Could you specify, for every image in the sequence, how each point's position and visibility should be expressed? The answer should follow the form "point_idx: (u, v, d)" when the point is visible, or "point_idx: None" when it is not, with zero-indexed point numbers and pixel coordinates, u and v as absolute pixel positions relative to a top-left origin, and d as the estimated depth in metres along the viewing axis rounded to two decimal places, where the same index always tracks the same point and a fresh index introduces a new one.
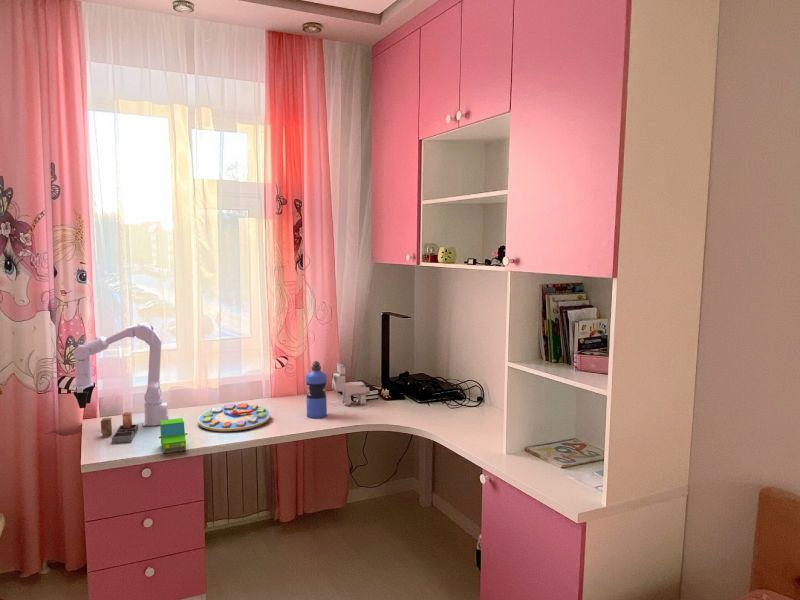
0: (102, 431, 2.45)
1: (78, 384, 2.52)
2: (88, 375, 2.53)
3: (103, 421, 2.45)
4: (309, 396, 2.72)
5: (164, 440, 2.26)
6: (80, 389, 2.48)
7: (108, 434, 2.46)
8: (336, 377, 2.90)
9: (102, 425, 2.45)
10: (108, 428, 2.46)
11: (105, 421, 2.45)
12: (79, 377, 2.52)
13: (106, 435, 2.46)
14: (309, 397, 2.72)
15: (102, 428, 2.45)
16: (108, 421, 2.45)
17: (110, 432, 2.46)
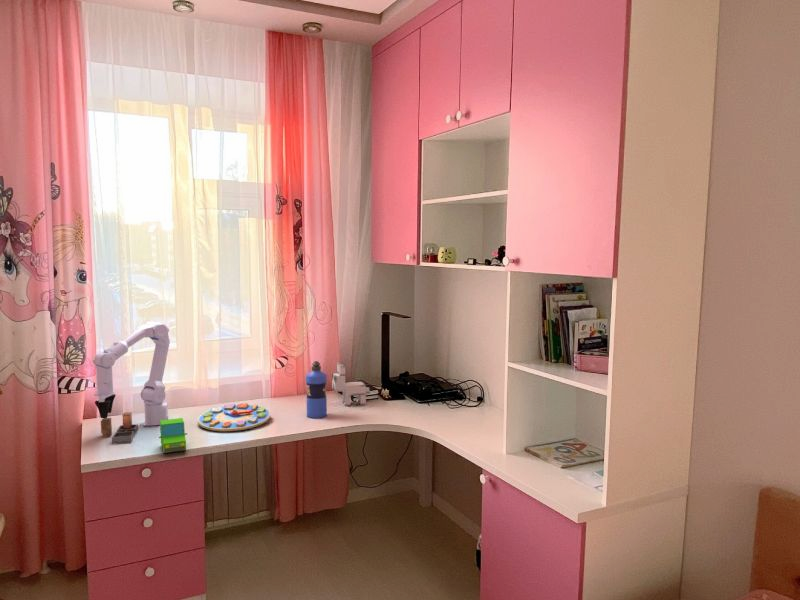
0: (102, 431, 2.45)
1: (99, 393, 2.43)
2: (110, 384, 2.44)
3: (103, 421, 2.45)
4: (309, 396, 2.72)
5: (164, 440, 2.26)
6: (102, 398, 2.39)
7: (108, 434, 2.46)
8: (336, 377, 2.90)
9: (102, 425, 2.45)
10: (108, 428, 2.46)
11: (105, 421, 2.45)
12: (101, 386, 2.42)
13: (106, 435, 2.46)
14: (309, 397, 2.72)
15: (102, 428, 2.45)
16: (108, 421, 2.45)
17: (110, 432, 2.46)
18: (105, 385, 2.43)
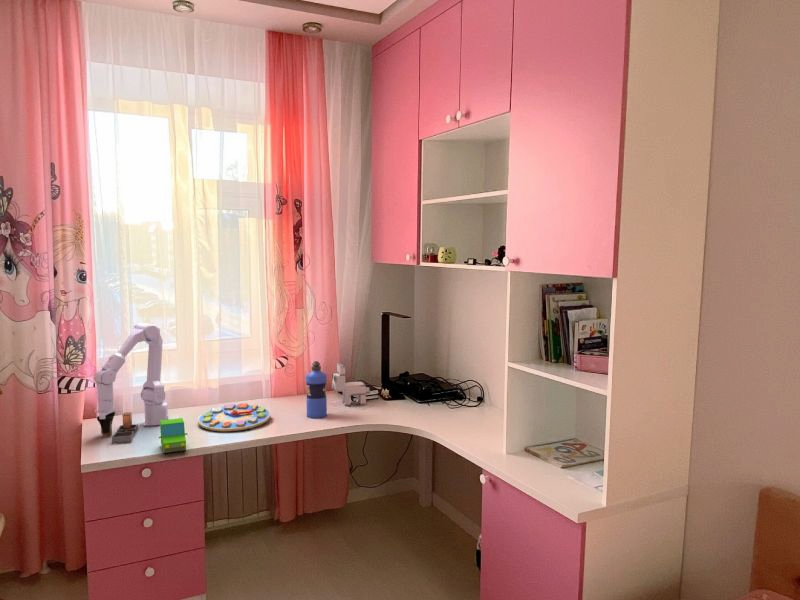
0: None
1: (100, 410, 2.43)
2: (110, 400, 2.45)
3: None
4: (309, 396, 2.72)
5: (164, 440, 2.26)
6: (103, 415, 2.39)
7: (108, 434, 2.46)
8: (336, 377, 2.90)
9: None
10: None
11: None
12: (101, 403, 2.43)
13: (106, 435, 2.46)
14: (309, 397, 2.72)
15: None
16: None
17: (110, 432, 2.46)
18: (106, 402, 2.43)
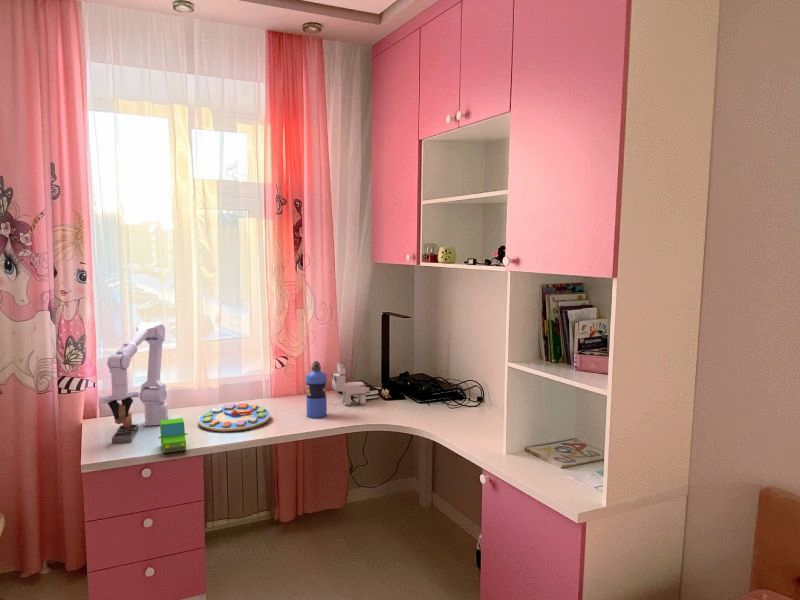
0: None
1: (112, 394, 2.39)
2: (118, 387, 2.37)
3: None
4: (309, 396, 2.72)
5: (164, 440, 2.26)
6: (102, 400, 2.34)
7: (117, 421, 2.40)
8: (336, 377, 2.90)
9: None
10: None
11: None
12: (112, 387, 2.38)
13: (116, 422, 2.40)
14: (309, 397, 2.72)
15: None
16: None
17: (119, 420, 2.39)
18: (113, 387, 2.37)
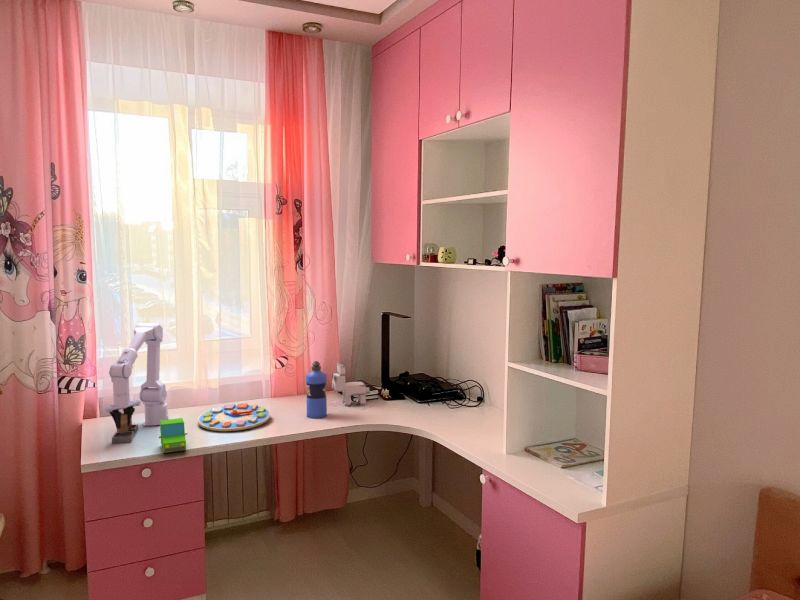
0: None
1: (114, 403, 2.39)
2: (120, 396, 2.37)
3: None
4: (309, 396, 2.72)
5: (164, 440, 2.26)
6: (104, 409, 2.34)
7: (119, 430, 2.39)
8: (336, 377, 2.90)
9: None
10: None
11: None
12: None
13: (118, 431, 2.40)
14: (309, 397, 2.72)
15: None
16: None
17: (121, 429, 2.39)
18: (115, 396, 2.37)
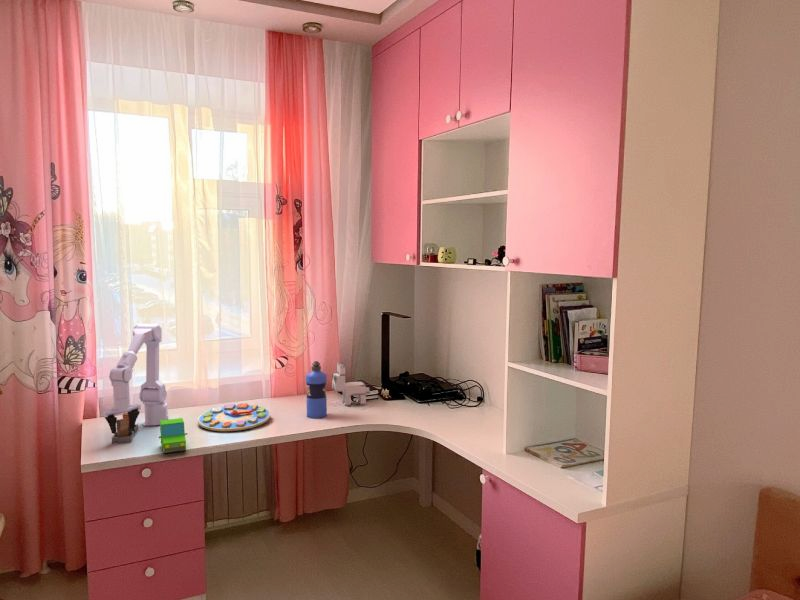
0: (117, 431, 2.41)
1: (114, 407, 2.39)
2: (120, 400, 2.37)
3: (117, 421, 2.40)
4: (309, 396, 2.72)
5: (164, 440, 2.26)
6: (104, 413, 2.34)
7: (120, 436, 2.40)
8: (336, 377, 2.90)
9: (117, 425, 2.41)
10: (119, 430, 2.39)
11: (118, 422, 2.40)
12: (114, 400, 2.38)
13: (119, 436, 2.40)
14: (309, 397, 2.72)
15: (117, 428, 2.41)
16: (119, 422, 2.39)
17: (122, 434, 2.40)
18: (115, 400, 2.37)
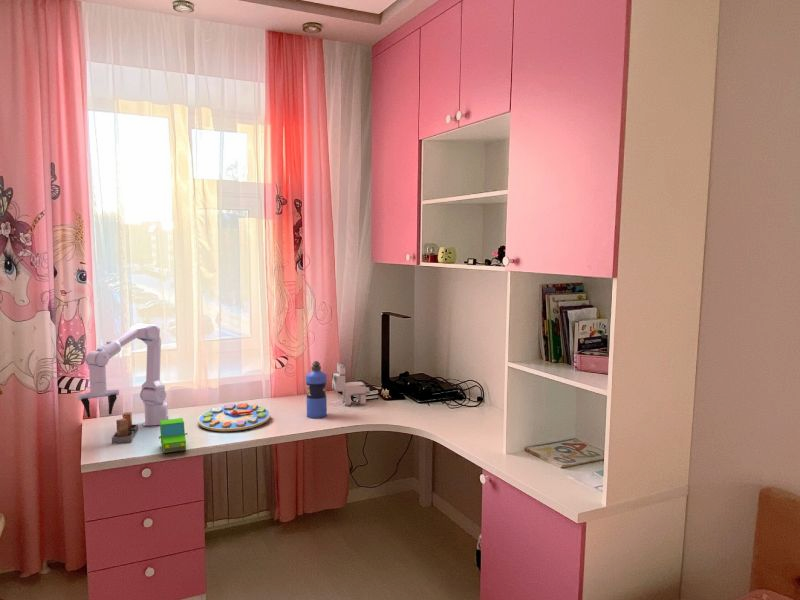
0: (117, 431, 2.41)
1: None
2: (94, 384, 2.35)
3: (117, 421, 2.40)
4: (309, 396, 2.72)
5: (164, 440, 2.26)
6: (78, 396, 2.34)
7: (120, 436, 2.40)
8: (336, 377, 2.90)
9: (117, 425, 2.41)
10: (119, 430, 2.39)
11: (118, 422, 2.40)
12: None
13: (119, 436, 2.40)
14: (309, 397, 2.72)
15: (117, 428, 2.41)
16: (119, 422, 2.39)
17: (122, 434, 2.40)
18: (90, 384, 2.36)
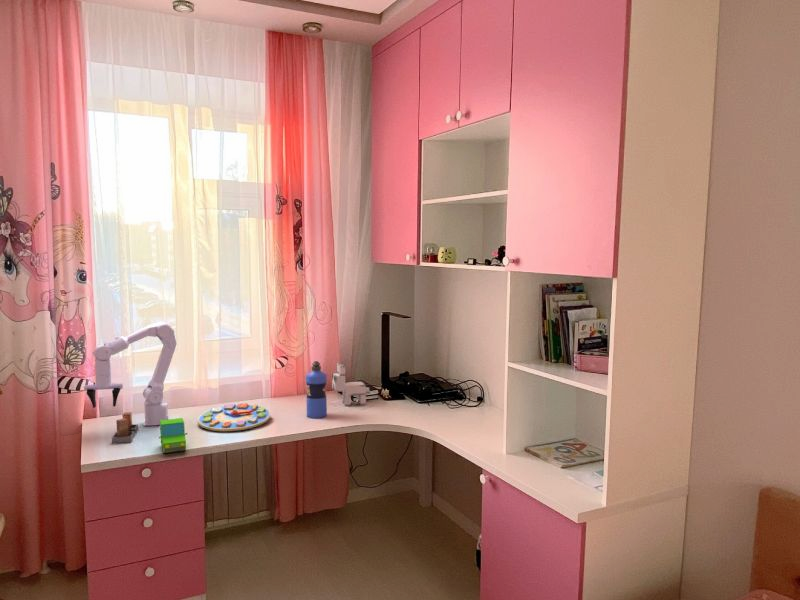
0: (117, 431, 2.41)
1: None
2: (97, 376, 2.49)
3: (117, 421, 2.40)
4: (309, 396, 2.72)
5: (164, 440, 2.26)
6: None
7: (120, 436, 2.40)
8: (336, 377, 2.90)
9: (117, 425, 2.41)
10: (119, 430, 2.39)
11: (118, 422, 2.40)
12: None
13: (119, 436, 2.40)
14: (309, 397, 2.72)
15: (117, 428, 2.41)
16: (119, 422, 2.39)
17: (122, 434, 2.40)
18: None
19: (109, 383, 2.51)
